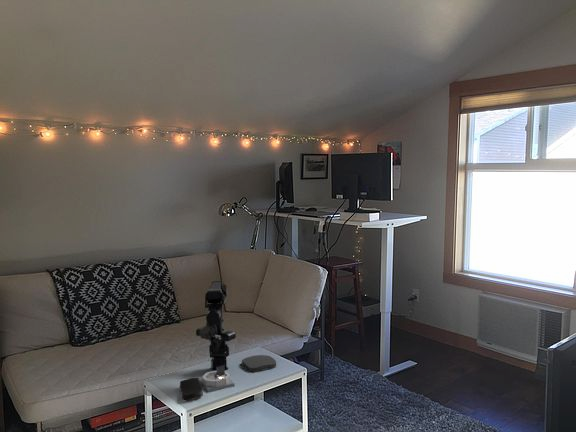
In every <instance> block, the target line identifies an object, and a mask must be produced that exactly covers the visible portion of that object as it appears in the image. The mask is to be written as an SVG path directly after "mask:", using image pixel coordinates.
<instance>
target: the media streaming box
mask: <svg viewBox="0 0 576 432" xmlns="http://www.w3.org/2000/svg"><path fill="white" fill-rule="evenodd" d="M241 365H242V366H243V368H244V369H245V370H247V371H248V372H251V373H255V372H256V373H257V372H258V373H259V372H262V371H267V370H271V369H275V368H276V367H277V360H276V359H274V357H272V356H271V355H265V354H258V355H251V356H248V357H244V358H243V359H241Z"/></svg>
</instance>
